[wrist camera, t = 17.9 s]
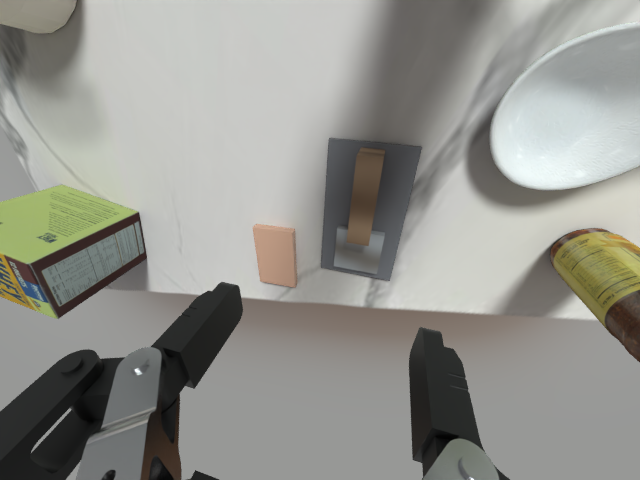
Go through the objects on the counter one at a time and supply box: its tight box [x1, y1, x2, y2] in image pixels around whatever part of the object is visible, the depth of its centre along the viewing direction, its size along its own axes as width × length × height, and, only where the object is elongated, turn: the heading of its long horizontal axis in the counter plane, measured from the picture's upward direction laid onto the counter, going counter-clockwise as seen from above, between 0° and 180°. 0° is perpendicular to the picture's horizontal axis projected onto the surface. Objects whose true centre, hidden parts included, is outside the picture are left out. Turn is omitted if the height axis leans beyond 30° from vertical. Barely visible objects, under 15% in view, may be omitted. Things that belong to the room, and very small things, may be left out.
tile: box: [253, 224, 297, 287], centre depth 40 cm, size 2×6×10 cm
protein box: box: [0, 185, 147, 319], centre depth 40 cm, size 10×15×16 cm
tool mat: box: [321, 138, 422, 281], centre depth 33 cm, size 18×10×1 cm, turn 177°
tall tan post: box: [334, 147, 385, 274], centre depth 31 cm, size 16×6×4 cm, turn 177°
